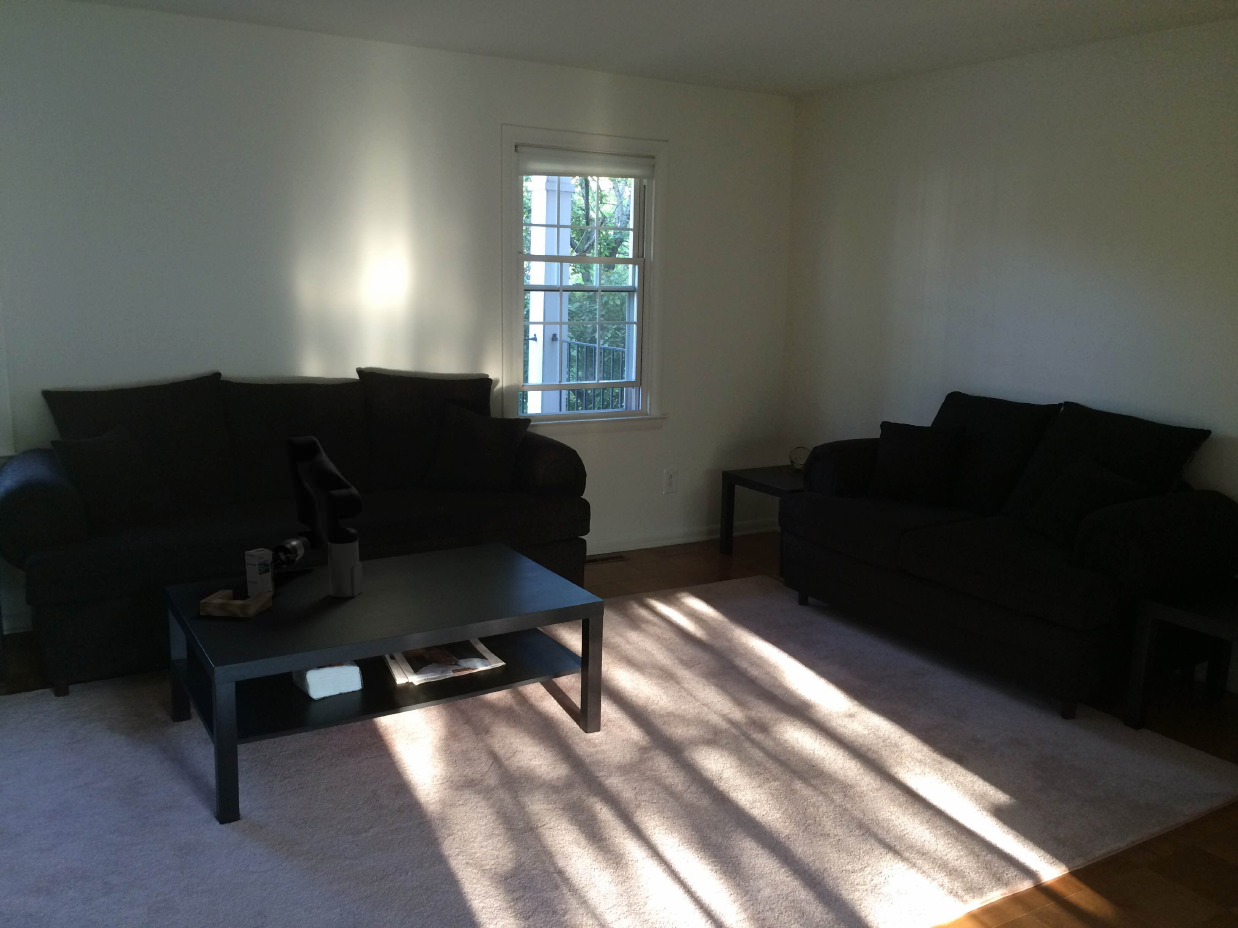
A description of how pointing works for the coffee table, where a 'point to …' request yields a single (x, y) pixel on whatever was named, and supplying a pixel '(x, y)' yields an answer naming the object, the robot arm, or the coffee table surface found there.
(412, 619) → the coffee table surface
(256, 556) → the syrup box
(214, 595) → the cradle
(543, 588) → the coffee table surface
